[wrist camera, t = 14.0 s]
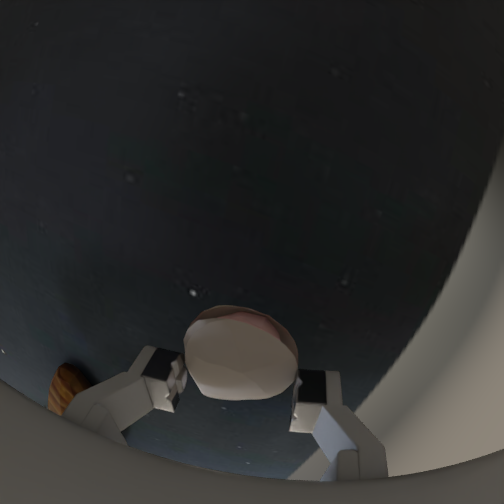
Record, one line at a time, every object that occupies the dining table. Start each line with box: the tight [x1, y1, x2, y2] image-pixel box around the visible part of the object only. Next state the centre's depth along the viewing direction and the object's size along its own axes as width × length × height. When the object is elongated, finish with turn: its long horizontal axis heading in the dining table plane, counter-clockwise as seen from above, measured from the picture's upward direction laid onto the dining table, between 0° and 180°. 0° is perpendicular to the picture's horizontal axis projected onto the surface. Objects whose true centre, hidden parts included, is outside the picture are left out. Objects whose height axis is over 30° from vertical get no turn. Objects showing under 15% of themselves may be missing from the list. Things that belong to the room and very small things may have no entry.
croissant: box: [48, 363, 92, 416], centre depth 16 cm, size 14×7×5 cm, turn 168°
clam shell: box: [184, 305, 298, 400], centre depth 10 cm, size 4×5×2 cm
